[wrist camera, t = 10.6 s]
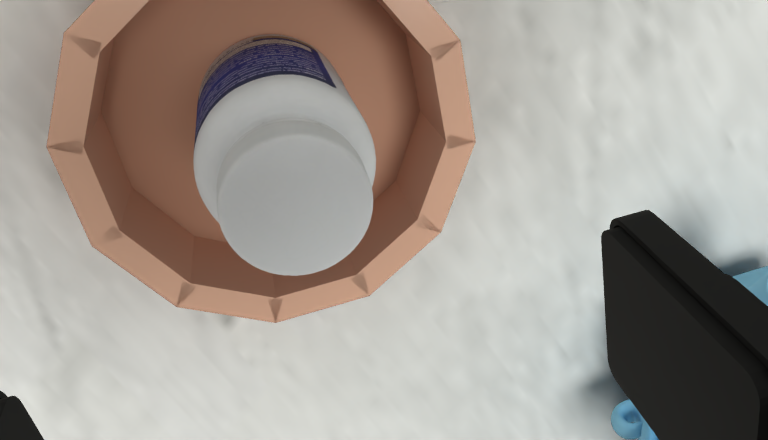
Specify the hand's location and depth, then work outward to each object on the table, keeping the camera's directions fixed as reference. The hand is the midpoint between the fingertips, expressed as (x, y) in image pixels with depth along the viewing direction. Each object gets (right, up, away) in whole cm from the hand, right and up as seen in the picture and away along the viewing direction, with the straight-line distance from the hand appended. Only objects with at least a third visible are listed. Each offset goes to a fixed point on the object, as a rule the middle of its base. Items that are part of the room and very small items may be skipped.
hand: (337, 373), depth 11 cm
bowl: (-4, +7, +15) cm, 17 cm away
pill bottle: (-3, +7, +15) cm, 16 cm away
